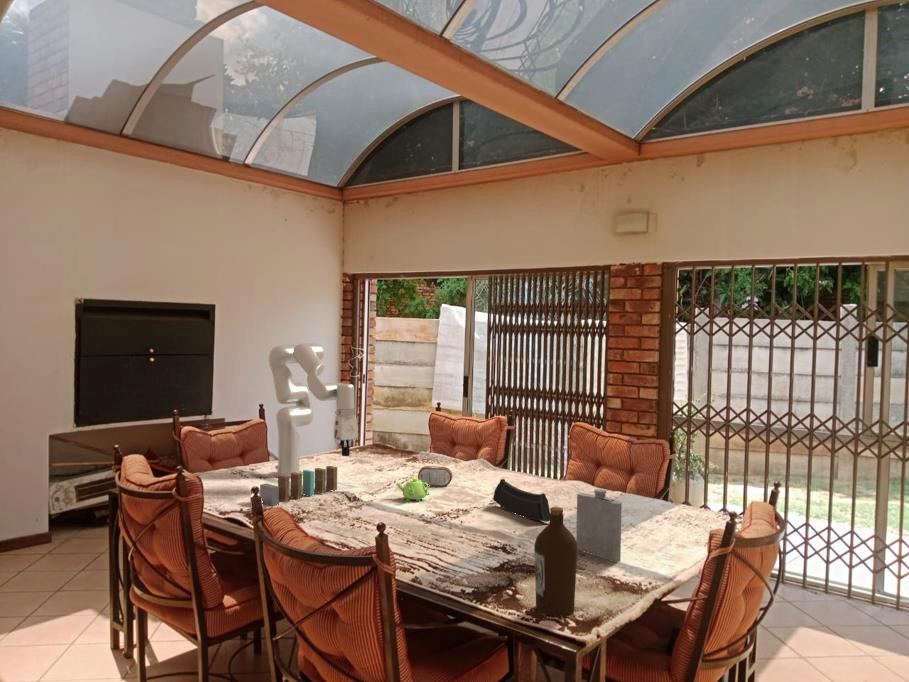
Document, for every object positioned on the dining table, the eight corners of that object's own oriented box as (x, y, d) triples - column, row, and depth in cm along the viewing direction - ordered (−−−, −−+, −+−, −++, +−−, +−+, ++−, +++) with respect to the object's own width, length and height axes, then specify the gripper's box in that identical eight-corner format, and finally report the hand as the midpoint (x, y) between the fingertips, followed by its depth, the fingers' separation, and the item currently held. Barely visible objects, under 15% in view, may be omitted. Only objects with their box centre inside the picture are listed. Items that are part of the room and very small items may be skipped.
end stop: (259, 502, 272) (260, 484, 272) (266, 501, 274) (266, 483, 274) (271, 506, 267) (272, 487, 267) (278, 504, 269) (278, 486, 269)
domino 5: (333, 491, 291) (333, 467, 291) (326, 489, 294) (326, 466, 294) (337, 491, 293) (337, 467, 292) (329, 489, 296) (329, 465, 296)
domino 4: (322, 494, 287) (322, 470, 286) (314, 492, 290) (314, 468, 290) (325, 493, 288) (325, 469, 288) (318, 491, 291) (318, 467, 291)
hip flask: (574, 549, 220) (575, 486, 219) (582, 546, 223) (583, 484, 222) (616, 562, 208) (617, 495, 208) (624, 559, 211) (625, 493, 210)
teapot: (433, 500, 279) (434, 479, 278) (408, 504, 272) (409, 482, 272) (419, 495, 288) (420, 474, 288) (395, 498, 282) (395, 477, 282)
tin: (452, 485, 306) (452, 466, 306) (451, 487, 303) (451, 468, 303) (418, 484, 307) (418, 465, 307) (417, 486, 304) (417, 466, 304)
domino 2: (298, 499, 278) (298, 474, 277) (290, 497, 281) (290, 472, 281) (301, 498, 279) (302, 473, 279) (294, 496, 282) (294, 471, 282)
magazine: (556, 500, 246) (506, 461, 270) (549, 501, 244) (499, 462, 268) (546, 542, 250) (498, 501, 274) (539, 544, 249) (491, 502, 272)
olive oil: (569, 599, 179) (571, 502, 178) (582, 617, 168) (584, 513, 168) (529, 601, 177) (530, 503, 177) (539, 618, 167) (540, 514, 166)
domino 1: (285, 502, 273) (285, 476, 273) (277, 500, 276) (278, 474, 276) (289, 501, 274) (289, 476, 274) (281, 499, 278) (281, 474, 278)
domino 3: (310, 496, 282) (310, 472, 282) (302, 494, 285) (302, 470, 285) (313, 496, 284) (314, 471, 283) (306, 494, 287) (306, 469, 287)
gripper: (337, 414, 290) (337, 459, 290) (364, 411, 301) (364, 454, 301) (326, 413, 295) (326, 457, 295) (353, 410, 306) (353, 452, 306)
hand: (345, 455), depth 298 cm, fingers closed
